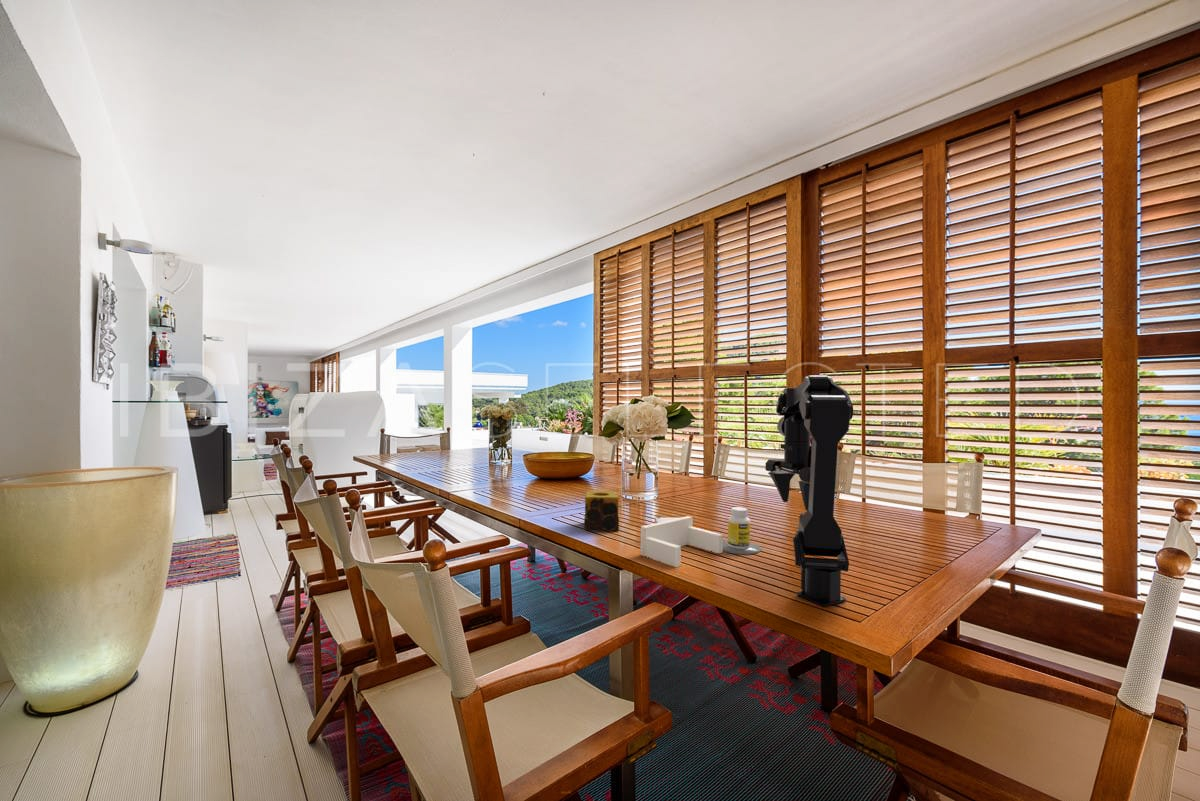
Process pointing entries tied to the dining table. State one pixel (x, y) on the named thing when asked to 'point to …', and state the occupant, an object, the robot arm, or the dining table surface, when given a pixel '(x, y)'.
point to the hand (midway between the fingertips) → (796, 506)
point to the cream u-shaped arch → (676, 540)
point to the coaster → (751, 550)
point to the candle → (601, 511)
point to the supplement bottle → (739, 528)
